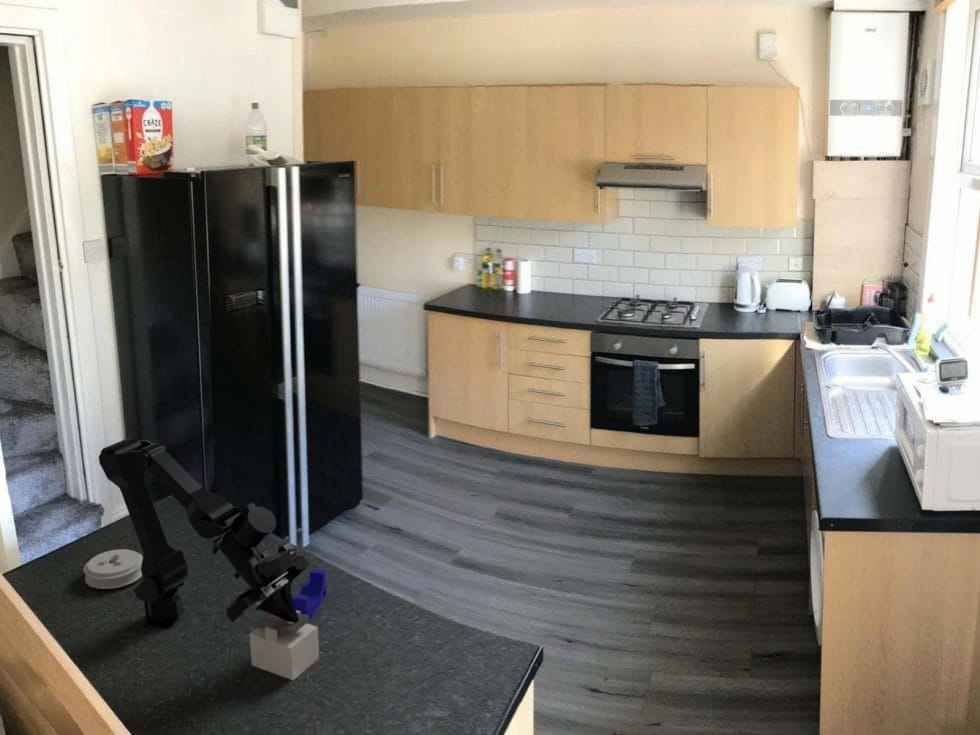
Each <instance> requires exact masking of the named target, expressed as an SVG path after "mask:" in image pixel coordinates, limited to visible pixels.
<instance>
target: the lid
mask: <svg viewBox="0 0 980 735" xmlns="http://www.w3.org/2000/svg"><path fill="white" fill-rule="evenodd" d="M142 560H143V555H142V554H141V553H140V552H137V551H135V550H131V549H123V548H122V549H120V548H119V549H112V550H111V549H110V550H108V551H105V552H101V553H99V554H97V555H95V556H93V557H92V558H91V559H90V560H89V561H88V562H86V563H85V565H84V566H83V567H84V568H83V572H84V575H85V576H84V577H85V578H84V581H85V583H86V585H88V586H89V587H91V588H94V589H99V590H100V589H101V590H109V589H110V590H111V589H117V588H122V587H126V586H128V585H130V584H133V583H135V582H136V581H138V580H140V579H141V578H143V577H142V573H141V565H142Z"/></svg>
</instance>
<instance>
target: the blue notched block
mask: <svg viewBox="0 0 980 735" xmlns="http://www.w3.org/2000/svg"><path fill="white" fill-rule="evenodd" d="M309 572H310V573H309V580H305V582H304V584H303V585H302V587H301V591H300V594H294V595H292V600H293V603H294V606H295V609H296V610H298V611H301V614H305V615H309V618H310V621H311V620H312V618H313V617H314V615H315V613H316V612H317V610H318V609H319V607H320V606H319V605H322V602H323V601H324V599H325V598H326V596H327V592H328V590H327V573H326V570H323V569H316V568H315V569H314V568H313V569H311V570H310V571H309ZM317 608H318V609H317ZM315 611H316V612H315ZM312 616H313V617H312ZM310 621H309V622H308V623H307V624H310Z"/></svg>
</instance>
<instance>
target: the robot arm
mask: <svg viewBox="0 0 980 735" xmlns="http://www.w3.org/2000/svg"><path fill="white" fill-rule="evenodd" d="M98 462H99V465H100V467H101V469H102V470H103V472H104V475H105V477H106V479H107V480H109V481H110V482H112V484H114V485H115V486H116V487H118V489H119V490H120V492H121V495H122V498H123V500H124V503H125V506H126V508H127V512H128V513H129V517H130V519H131V523H132V525H133V527H134V530H135V534H136V537H137V539H138V542H139V544H140V547H141V551H142V553H143V555H142V556H143V560H142V565H141V573H142V577H141V578H142V581H141V582H140V583H139V584H138V585H137V586H136V587H135V588H134V589H133V591H134V593H135V596H136V599H137V600H139V601H142V602H143V604H144V605H143V606H144V614H145V619H144V620H143V621H142V626H148V627H160V628H161V627H162V628H163V627H164V628H172V627H174V625H175V624H176V623H177V622H178V620H179V619H180V617H182V615H183V613H184V612H185V609H184V608H183V602H182V600H183V599H182V596H181V595H180V594H179V588H181V587H183V586H184V585H185V581H186V579H187V576H188V575H189V571H188V568H189V565H188V563H187V562H186V560H185V556H184V552H183V551H182V549H178V550H177V549H176V548H174V547H172V546H171V545H170V544H169V543H168V541H167V537H166V534H165V532H164V529H163V527H162V526H163V525H162V523H161V521H160V517H159V515H158V512H157V509H156V507H155V505H154V501H153V498H152V496H151V494H150V490H149V487H148V485H147V482H146V474H147V472H148V473H149V474H150V475H151V476H153V478H155V480H156V481H157V482H158V483H159V484H161V486H162V487H164V489H165V490H166V491H167V492H169V493H170V494H171V496H172V497H173V498H174V499H175V500H177V502H178V503H179V504H180V505H182V507H183V508H184V510H185V511H186V515H187V520H188V522H189V524H190V525H191V527H192V528H193V529H194V530H195V531H196V533H197V534H198V535H199V536H200V537H202V539H206V540H207V539H213V538H214V539H213V541H212V542H213V546H212V549H211V550H212V555H213V556H215V555H217V554H218V553H220V552H221V554H222V555H223V557H225V559H226V560H227V561H228V563H229V564H230V565H231V567H233V569H234V571H235V572H236V573H234V574H233V576H234V577H235V579H236V580H238V579H240V578H241V579H242V581H243V582H244V583H245V585H246V586H247V587H248V588H249V589H248V590H246V591H244V592H243V593H242V594H240V595H239V596H237V597H236V598H235V599H234V600H233V601H232V602H231V603H230V604H229V605H228V606H227V607H226V608H225V609H226V616H227V617H228V619H229V620H230V621H231V623H234V622H236V621H237V620H238V619H241V617H242V616H244V615H245V611H246V610H248V609H249V608H250V607H251V606H253V605H254V604H256V605H257V606H256V608H254V610H255V611H256V612H258V611H261V612H265V613H267V614H268V613H270V614H273V615H275V616H277V617H279V618H281V619H283V620H285V621H287V622H294V623H297V622H298V621H299V618H298V615H297V612H296V609H295V606H294V603H293V600H292V598H293V595H292V592H291V589H292V584H293V583H294V580H295V579H296V578H297V577H299V576H300V575H301V573H303V572H304V571H305V570H306V569H307V568H308V567H309V566H310V565H311V563H310V562H309V560H307V558H306V557H305V556H303V555H297V551H296V549H295V547H294V546H293V545H292V544H291V543H290V542H289V541H288V542H285V543H282V544H281V545H279V546H278V547H277V551H276V552H275V553H274V554H270V553H269V551H267V550H266V549H264V550H262V551H261V550H260V549H259V546H260V544H262V543H263V541H264V540H266V538H268V536H269V535H271V533H272V532H273V531H274V530H275V529H276V526H277V519H276V517H275V515H274V513H273V512H272V511H271V510H269V509H267V508H265V507H262V506H256V504H255V503H254V502H250V503H249V504H246V505H245V506H244V507H243V508H241V507H238V506H236V505H233V504H232V503H230V502H229V501H228V500H226V499H225V497H223V496H221V495H220V494H218V493H215V492H213V491H212V492H211V491H208V490H206V489H205V488H203V487H202V486H201V485H200V484H199V483H198V482H197V481H196V480H195V479H194V478H193V476H191V475H190V474H189V472H188V471H186V470H185V469H184V467H183V466H181V465H180V464H179V463H178V462H177V461H176V460H175V459H174V458H173V456H171V455H170V454H169V453H168V450H167V448H166V447H165V446H164V445H163V443H161V442H152V441H151V440H137V439H135V438H134V437H127V438H125V439H123V440H120V441H117V442H115V443H113V444H109V445H108V446H106V447H104V448H102V449H101V450H100V454H99V455H98ZM222 535H223V536H222ZM216 537H217V538H216Z"/></svg>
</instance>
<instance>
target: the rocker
mask: <svg viewBox="0 0 980 735" xmlns="http://www.w3.org/2000/svg"><path fill="white" fill-rule="evenodd" d="M297 615H298V618H299V621H298V622H297V623H294V622H287V621H285V620H283V619H281V618H279V617H277V616H275V615H273V614H270V613H267V614H266V615H264V616H263V617H261V618H260V619H258V621H256V622H255V624H256V625H255V626H256V629H257V628H258V629H263V630H265V627H266V626H268V627H271V628H274V629H277V633H281V634H286V635H293V634H294V633H295V632H296V631H298V630H299V629H300V628H302V627H303V626H304V625H305V624H307V623H308V622H309V623H310V622H311V620H310V618H309V615H305V614H300V613H297ZM309 623H308V624H309Z"/></svg>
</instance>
